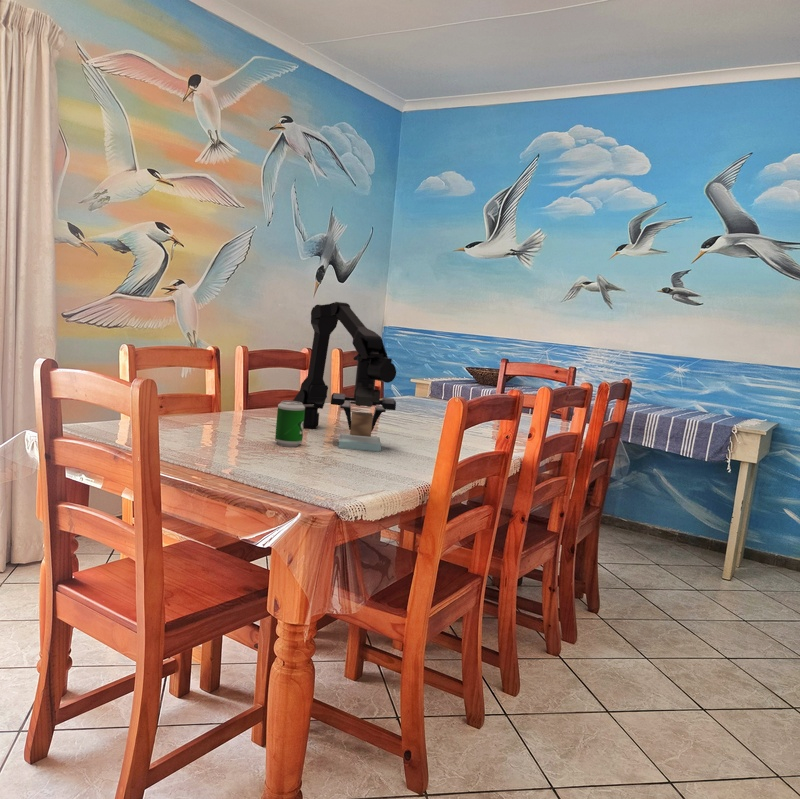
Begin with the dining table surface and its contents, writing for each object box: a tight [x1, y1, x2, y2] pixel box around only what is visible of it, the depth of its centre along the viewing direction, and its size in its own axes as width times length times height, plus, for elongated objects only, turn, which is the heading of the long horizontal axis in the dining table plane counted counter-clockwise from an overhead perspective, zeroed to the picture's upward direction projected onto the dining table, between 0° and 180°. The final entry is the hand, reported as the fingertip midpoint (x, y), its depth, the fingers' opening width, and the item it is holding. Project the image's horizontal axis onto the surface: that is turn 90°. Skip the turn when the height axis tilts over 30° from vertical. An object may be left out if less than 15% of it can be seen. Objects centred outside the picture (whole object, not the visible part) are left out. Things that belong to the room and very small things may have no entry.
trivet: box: [337, 433, 382, 453], centre depth 203 cm, size 12×12×2 cm
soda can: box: [274, 400, 305, 448], centre depth 194 cm, size 8×8×12 cm
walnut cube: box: [349, 411, 374, 437], centre depth 202 cm, size 6×6×6 cm
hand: (360, 430), depth 202 cm, fingers closed on walnut cube, 6 cm apart
